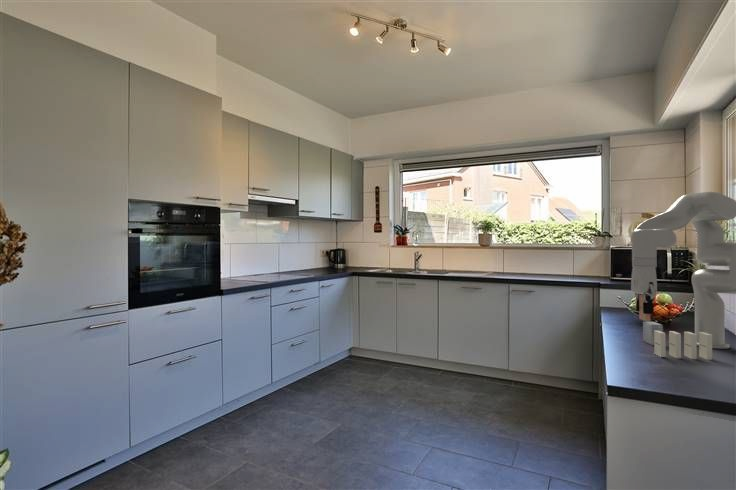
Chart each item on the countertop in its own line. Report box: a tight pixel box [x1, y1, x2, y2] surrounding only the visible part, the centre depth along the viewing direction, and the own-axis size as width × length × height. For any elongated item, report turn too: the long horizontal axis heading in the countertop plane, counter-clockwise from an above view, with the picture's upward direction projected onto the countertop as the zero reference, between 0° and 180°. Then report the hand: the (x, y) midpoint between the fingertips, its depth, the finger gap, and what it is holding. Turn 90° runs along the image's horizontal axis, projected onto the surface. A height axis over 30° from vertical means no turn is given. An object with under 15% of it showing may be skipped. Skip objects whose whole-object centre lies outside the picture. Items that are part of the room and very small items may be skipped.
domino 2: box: [653, 331, 667, 358], centre depth 153 cm, size 2×5×9 cm, turn 169°
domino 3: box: [668, 330, 682, 359], centre depth 152 cm, size 2×5×9 cm, turn 168°
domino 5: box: [698, 332, 713, 361], centre depth 150 cm, size 2×5×9 cm, turn 168°
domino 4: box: [683, 331, 698, 360], centre depth 151 cm, size 2×5×9 cm, turn 169°
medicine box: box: [642, 321, 664, 346], centre depth 173 cm, size 8×4×9 cm, turn 168°
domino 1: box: [638, 294, 651, 322], centre depth 150 cm, size 2×5×9 cm, turn 169°
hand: (644, 311), depth 150 cm, fingers closed on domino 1, 4 cm apart
